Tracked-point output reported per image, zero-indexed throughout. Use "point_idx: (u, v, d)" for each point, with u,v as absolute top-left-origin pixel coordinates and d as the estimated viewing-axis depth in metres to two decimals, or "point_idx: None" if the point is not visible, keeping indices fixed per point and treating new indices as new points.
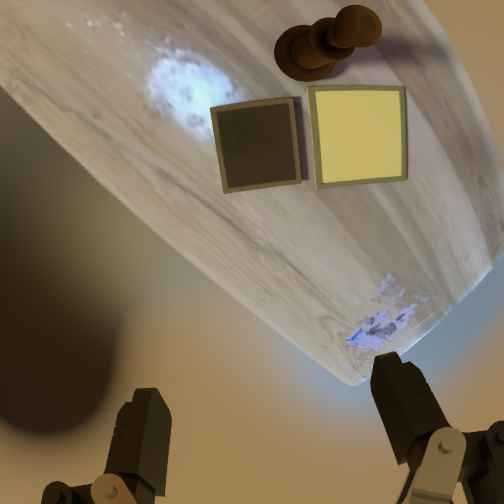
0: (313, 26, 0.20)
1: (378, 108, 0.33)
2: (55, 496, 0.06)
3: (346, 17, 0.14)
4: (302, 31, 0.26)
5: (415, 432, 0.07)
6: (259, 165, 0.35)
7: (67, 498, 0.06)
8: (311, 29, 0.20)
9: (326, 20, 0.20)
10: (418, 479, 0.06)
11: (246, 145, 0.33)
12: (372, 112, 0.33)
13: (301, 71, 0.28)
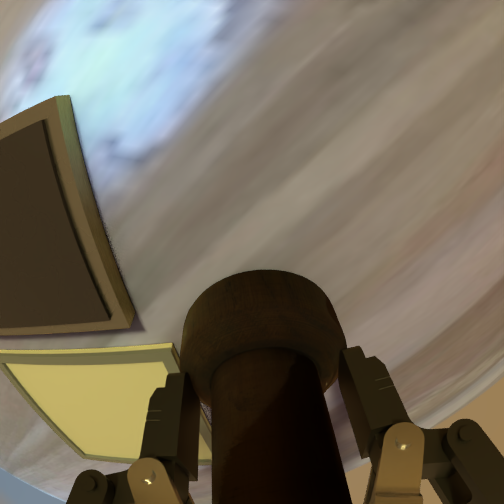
0: None
1: None
2: (89, 485, 0.06)
3: None
4: (328, 367, 0.11)
5: (372, 425, 0.08)
6: None
7: (102, 486, 0.06)
8: None
9: None
10: (380, 478, 0.06)
11: None
12: None
13: (198, 372, 0.10)
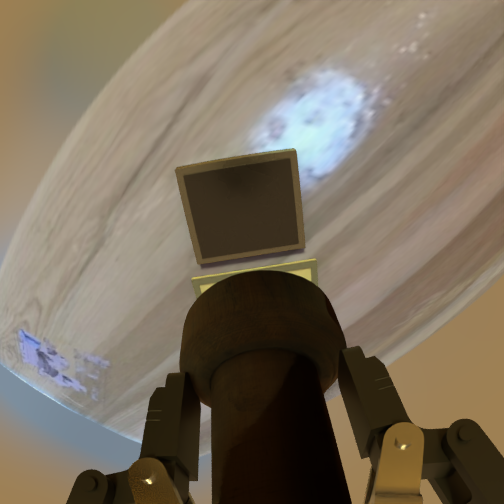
0: None
1: None
2: (89, 485, 0.06)
3: None
4: (328, 367, 0.11)
5: (371, 425, 0.08)
6: (217, 214, 0.27)
7: (102, 486, 0.06)
8: None
9: None
10: (379, 478, 0.06)
11: (244, 197, 0.26)
12: None
13: (198, 373, 0.10)
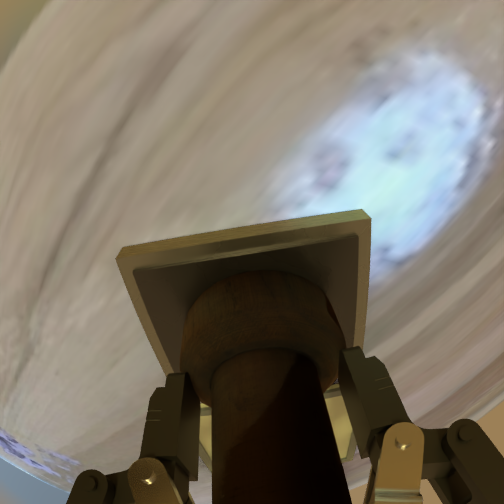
0: None
1: None
2: (89, 485, 0.06)
3: None
4: (328, 367, 0.11)
5: (371, 425, 0.08)
6: None
7: (102, 486, 0.06)
8: None
9: None
10: (379, 478, 0.06)
11: None
12: None
13: (198, 372, 0.10)
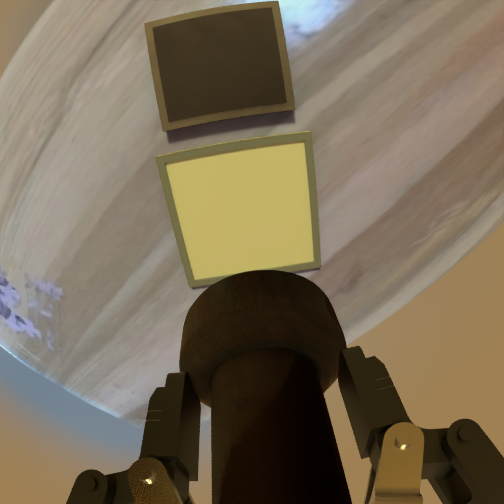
0: None
1: (286, 235, 0.27)
2: (89, 485, 0.06)
3: None
4: (328, 367, 0.11)
5: (371, 425, 0.08)
6: (188, 66, 0.20)
7: (102, 486, 0.06)
8: None
9: None
10: (379, 478, 0.06)
11: (219, 46, 0.19)
12: (280, 226, 0.27)
13: (198, 372, 0.10)
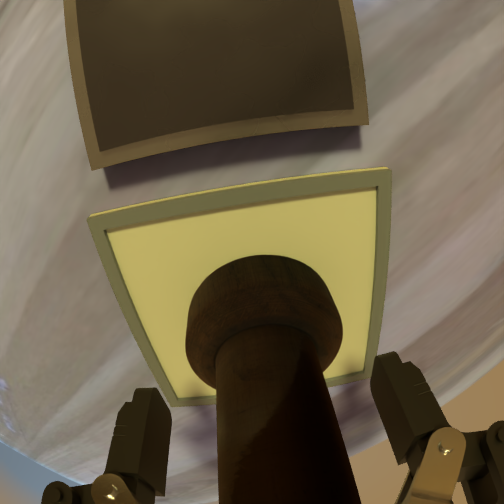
0: None
1: None
2: (55, 496, 0.06)
3: None
4: (326, 345, 0.12)
5: (415, 432, 0.07)
6: (137, 27, 0.08)
7: (67, 498, 0.06)
8: None
9: None
10: (418, 479, 0.06)
11: None
12: None
13: (204, 350, 0.11)
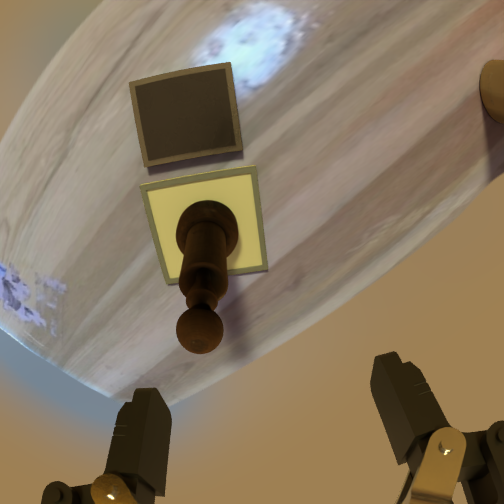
0: (213, 265, 0.24)
1: (239, 244, 0.36)
2: (55, 496, 0.06)
3: (200, 325, 0.18)
4: (228, 232, 0.32)
5: (415, 432, 0.07)
6: (162, 118, 0.28)
7: (67, 498, 0.06)
8: (209, 263, 0.24)
9: (222, 276, 0.25)
10: (418, 479, 0.06)
11: (185, 102, 0.27)
12: None
13: (182, 232, 0.31)
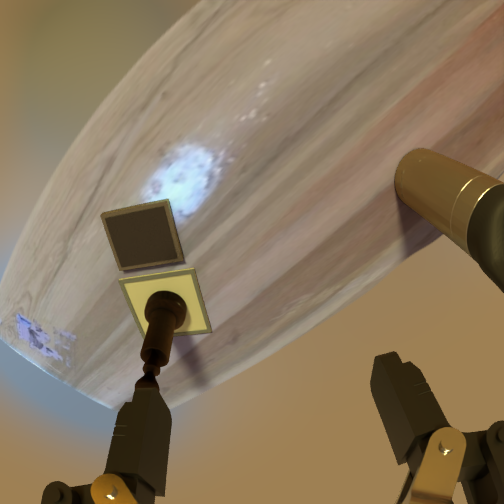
0: (158, 349, 0.38)
1: (189, 316, 0.50)
2: (55, 496, 0.06)
3: None
4: (177, 314, 0.46)
5: (415, 432, 0.07)
6: (126, 241, 0.42)
7: (67, 498, 0.06)
8: (155, 348, 0.38)
9: (165, 354, 0.39)
10: (418, 479, 0.06)
11: (139, 230, 0.42)
12: None
13: (147, 314, 0.46)
